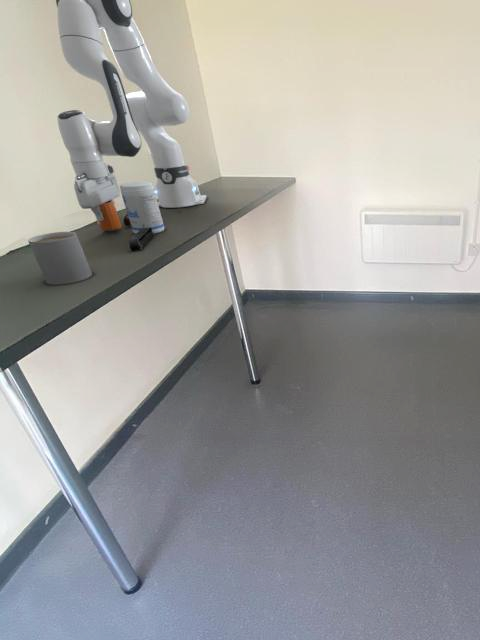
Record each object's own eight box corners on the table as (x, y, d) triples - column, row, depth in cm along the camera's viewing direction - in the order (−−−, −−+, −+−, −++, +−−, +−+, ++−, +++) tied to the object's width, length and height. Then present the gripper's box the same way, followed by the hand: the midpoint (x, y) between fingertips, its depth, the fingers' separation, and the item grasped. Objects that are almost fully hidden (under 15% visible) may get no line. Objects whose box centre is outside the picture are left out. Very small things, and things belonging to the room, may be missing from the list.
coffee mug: (84, 282, 116) (68, 240, 111) (39, 286, 115) (20, 244, 109) (101, 266, 127) (86, 226, 122) (60, 269, 126) (43, 230, 120)
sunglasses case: (151, 224, 165) (135, 207, 161) (136, 236, 166) (119, 220, 162) (160, 213, 180) (145, 198, 176) (146, 225, 181) (131, 209, 177)
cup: (106, 225, 163) (97, 200, 158) (125, 225, 163) (116, 199, 158) (96, 230, 157) (87, 205, 153) (116, 229, 157) (107, 204, 153)
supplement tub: (127, 234, 156) (111, 185, 148) (149, 227, 163) (135, 180, 155) (150, 236, 153) (134, 186, 145) (172, 229, 160) (158, 181, 152)
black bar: (140, 251, 139) (137, 240, 137) (131, 251, 138) (127, 241, 136) (154, 235, 153) (151, 226, 152) (146, 236, 153) (142, 226, 151)
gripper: (84, 176, 142) (102, 224, 150) (115, 165, 159) (130, 209, 167) (62, 177, 142) (81, 225, 149) (96, 166, 159) (111, 210, 166)
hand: (107, 217), depth 158 cm, fingers closed on cup, 6 cm apart
